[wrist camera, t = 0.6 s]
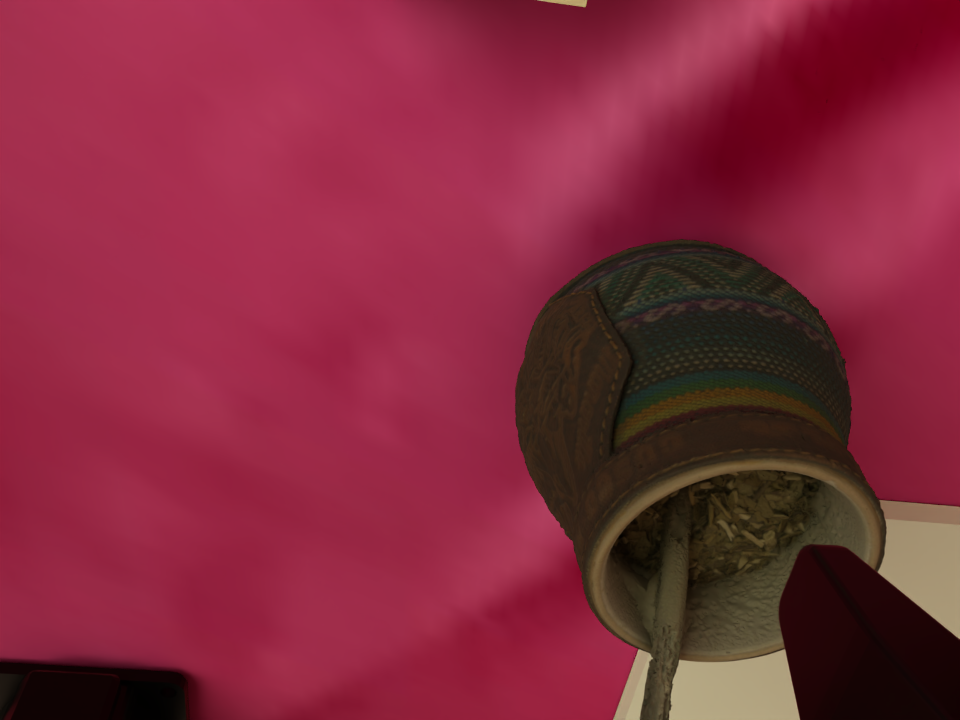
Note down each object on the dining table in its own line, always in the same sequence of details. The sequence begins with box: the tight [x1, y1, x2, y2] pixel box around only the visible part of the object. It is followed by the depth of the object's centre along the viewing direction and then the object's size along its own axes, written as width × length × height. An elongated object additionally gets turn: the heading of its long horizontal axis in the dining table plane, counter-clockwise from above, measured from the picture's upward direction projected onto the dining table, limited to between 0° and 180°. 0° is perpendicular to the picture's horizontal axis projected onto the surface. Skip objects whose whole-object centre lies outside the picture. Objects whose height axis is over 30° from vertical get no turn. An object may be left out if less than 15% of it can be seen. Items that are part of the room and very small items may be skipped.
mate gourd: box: [515, 239, 887, 720], centre depth 19 cm, size 7×8×10 cm
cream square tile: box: [613, 500, 960, 720], centre depth 29 cm, size 11×11×1 cm
